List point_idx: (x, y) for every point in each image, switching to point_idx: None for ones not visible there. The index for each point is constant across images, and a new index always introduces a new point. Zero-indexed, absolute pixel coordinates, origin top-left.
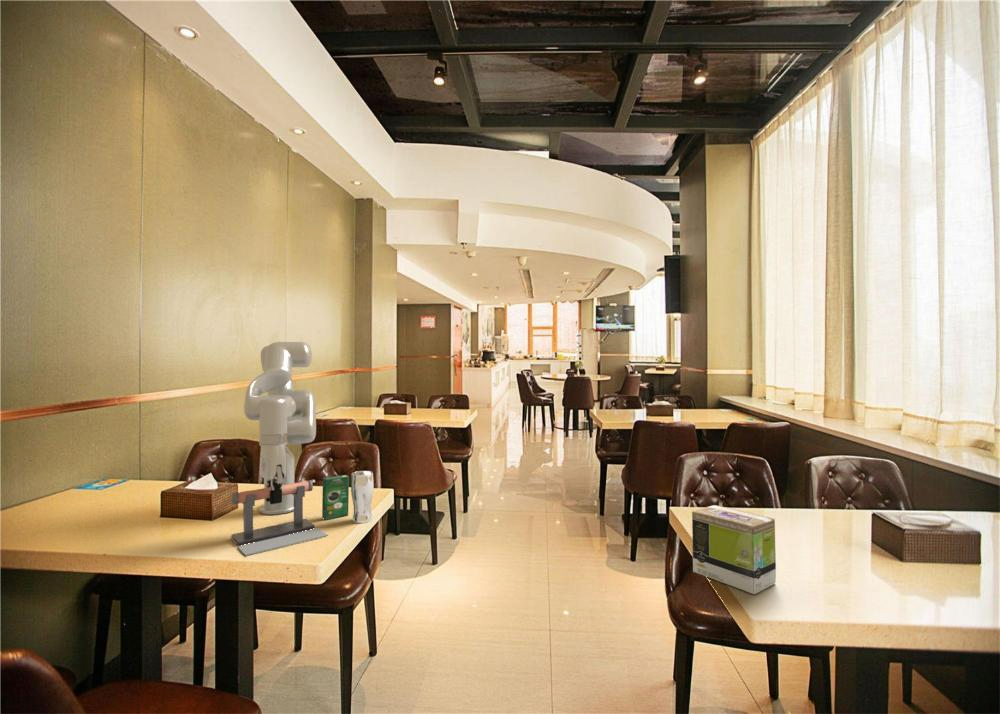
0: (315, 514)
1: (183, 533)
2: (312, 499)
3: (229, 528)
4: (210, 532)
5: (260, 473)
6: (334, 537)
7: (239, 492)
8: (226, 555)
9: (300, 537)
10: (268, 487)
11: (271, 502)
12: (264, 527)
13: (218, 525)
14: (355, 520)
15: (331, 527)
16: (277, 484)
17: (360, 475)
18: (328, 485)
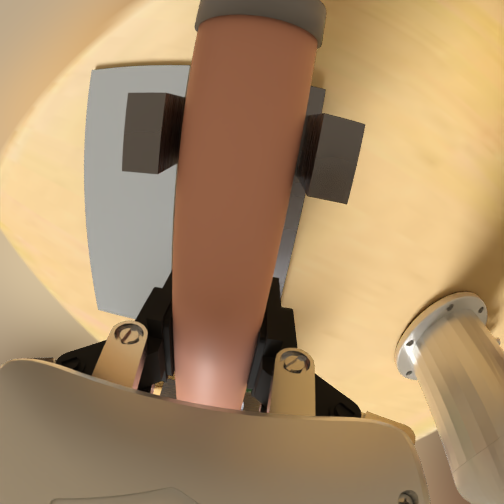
0: None
1: (488, 57)
2: (418, 401)
3: (438, 154)
4: (447, 95)
5: (360, 451)
6: (86, 310)
7: (251, 41)
8: (150, 24)
9: (120, 256)
10: (284, 357)
11: None
12: (299, 217)
13: (485, 154)
14: (159, 391)
15: None
16: (39, 359)
17: None
18: None
